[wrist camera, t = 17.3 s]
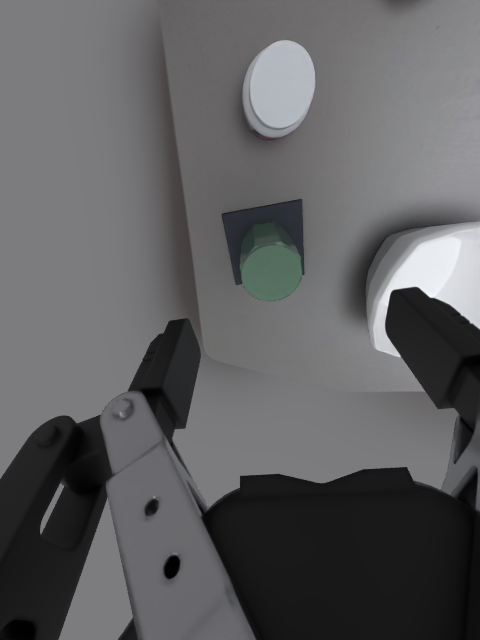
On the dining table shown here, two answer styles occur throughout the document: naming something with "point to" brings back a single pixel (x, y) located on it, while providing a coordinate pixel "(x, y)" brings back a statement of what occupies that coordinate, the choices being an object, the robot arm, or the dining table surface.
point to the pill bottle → (278, 90)
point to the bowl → (425, 273)
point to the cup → (269, 262)
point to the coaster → (280, 213)
